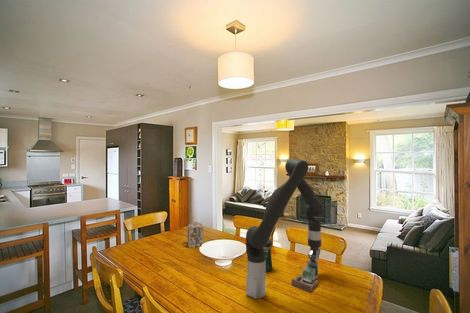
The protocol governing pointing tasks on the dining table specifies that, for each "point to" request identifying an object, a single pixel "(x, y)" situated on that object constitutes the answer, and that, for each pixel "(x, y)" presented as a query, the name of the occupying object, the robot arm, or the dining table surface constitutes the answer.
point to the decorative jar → (195, 234)
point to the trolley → (310, 272)
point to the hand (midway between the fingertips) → (314, 267)
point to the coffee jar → (268, 255)
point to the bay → (304, 284)
